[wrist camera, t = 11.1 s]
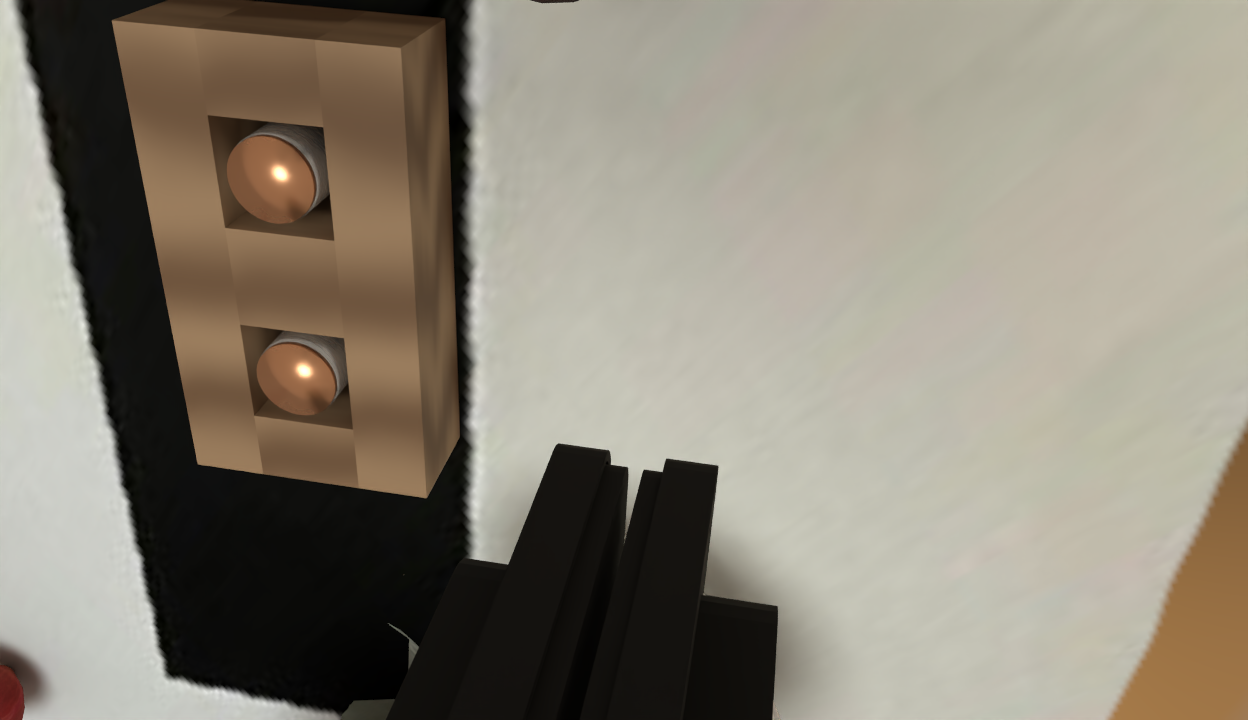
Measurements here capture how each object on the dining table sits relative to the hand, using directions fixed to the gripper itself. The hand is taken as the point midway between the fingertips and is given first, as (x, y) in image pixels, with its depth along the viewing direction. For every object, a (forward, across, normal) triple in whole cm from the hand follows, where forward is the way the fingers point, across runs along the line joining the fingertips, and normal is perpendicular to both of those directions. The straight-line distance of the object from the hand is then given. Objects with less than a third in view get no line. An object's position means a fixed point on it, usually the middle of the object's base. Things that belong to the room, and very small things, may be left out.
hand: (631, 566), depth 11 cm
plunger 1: (+32, +18, +8) cm, 37 cm away
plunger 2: (+32, +18, +16) cm, 40 cm away
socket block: (+32, +18, +12) cm, 39 cm away
